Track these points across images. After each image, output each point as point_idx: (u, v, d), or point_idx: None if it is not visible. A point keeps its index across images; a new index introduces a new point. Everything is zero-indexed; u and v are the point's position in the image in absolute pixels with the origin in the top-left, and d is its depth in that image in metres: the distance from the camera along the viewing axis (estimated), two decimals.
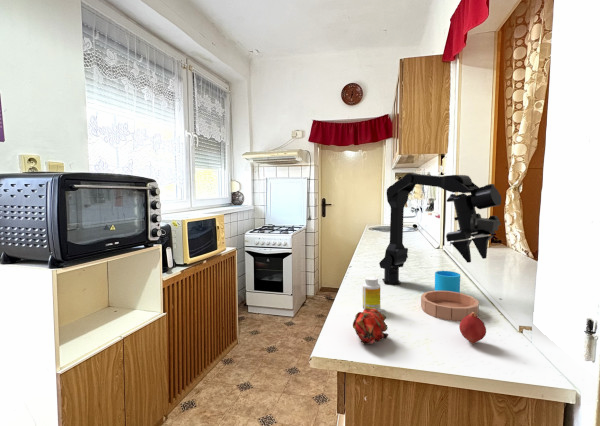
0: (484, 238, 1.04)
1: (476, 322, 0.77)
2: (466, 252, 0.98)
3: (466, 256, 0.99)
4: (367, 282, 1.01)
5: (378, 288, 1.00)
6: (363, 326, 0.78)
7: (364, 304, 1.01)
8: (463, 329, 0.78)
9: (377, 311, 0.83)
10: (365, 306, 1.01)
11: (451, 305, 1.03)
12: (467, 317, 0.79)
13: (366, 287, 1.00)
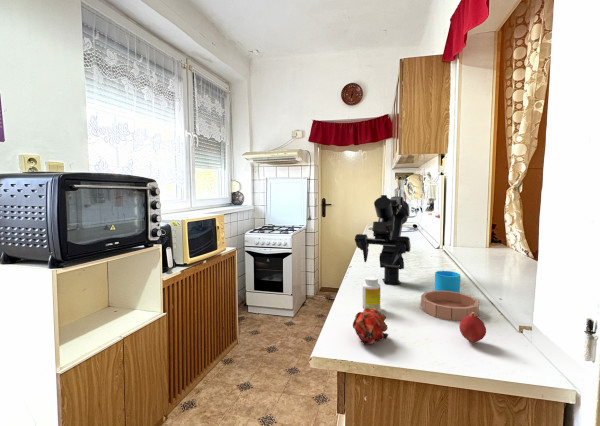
0: None
1: (476, 322, 0.77)
2: None
3: None
4: (367, 282, 1.01)
5: (378, 288, 1.00)
6: (363, 326, 0.78)
7: (364, 304, 1.01)
8: (463, 329, 0.78)
9: (377, 311, 0.83)
10: (365, 306, 1.01)
11: (451, 305, 1.03)
12: (467, 317, 0.79)
13: (366, 287, 1.00)
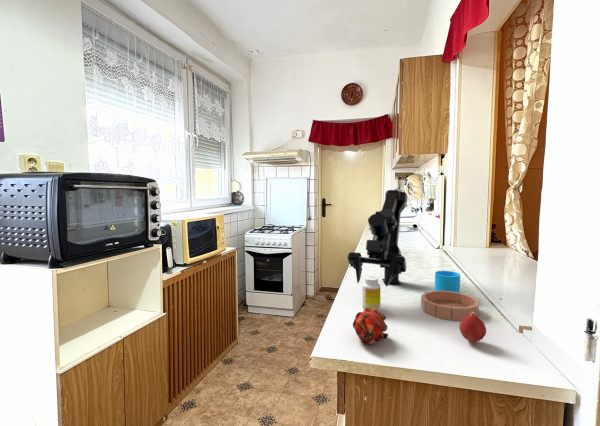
0: None
1: (476, 321, 0.77)
2: None
3: (356, 276, 1.06)
4: (367, 282, 1.01)
5: (378, 288, 1.00)
6: (363, 326, 0.78)
7: (364, 304, 1.01)
8: (463, 329, 0.78)
9: (377, 311, 0.83)
10: (365, 306, 1.01)
11: (451, 305, 1.03)
12: (467, 317, 0.79)
13: (366, 287, 1.00)
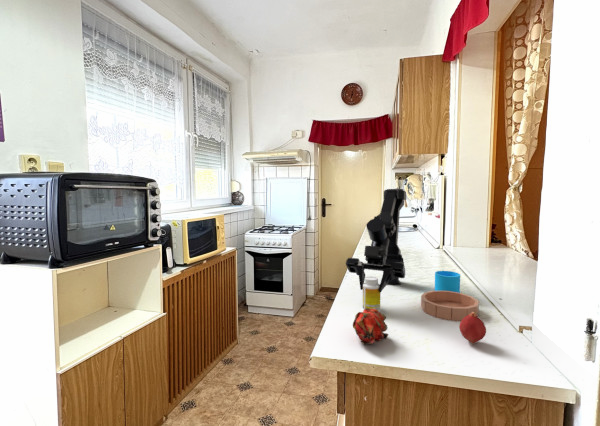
0: None
1: (476, 322, 0.77)
2: None
3: (360, 283, 1.03)
4: (367, 282, 1.01)
5: (378, 288, 1.00)
6: (363, 326, 0.78)
7: (364, 304, 1.01)
8: (463, 329, 0.78)
9: (377, 311, 0.83)
10: (365, 306, 1.01)
11: (451, 305, 1.03)
12: (467, 317, 0.79)
13: (366, 287, 1.00)
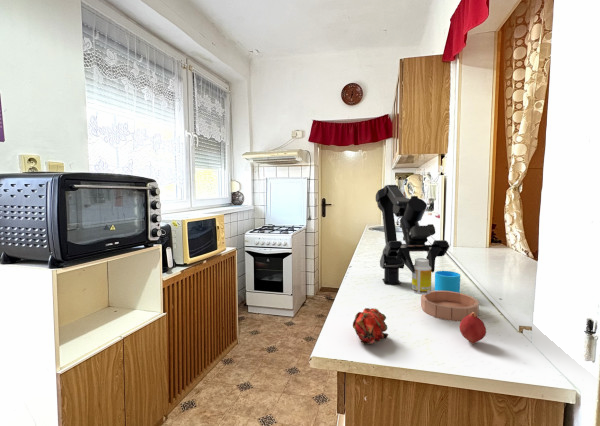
0: (430, 251, 1.00)
1: (476, 322, 0.77)
2: (408, 262, 0.98)
3: (409, 266, 0.98)
4: (421, 264, 0.96)
5: None
6: (363, 326, 0.78)
7: (418, 287, 0.96)
8: (463, 329, 0.78)
9: (377, 311, 0.83)
10: (420, 289, 0.96)
11: (451, 305, 1.03)
12: (467, 317, 0.79)
13: (421, 269, 0.95)
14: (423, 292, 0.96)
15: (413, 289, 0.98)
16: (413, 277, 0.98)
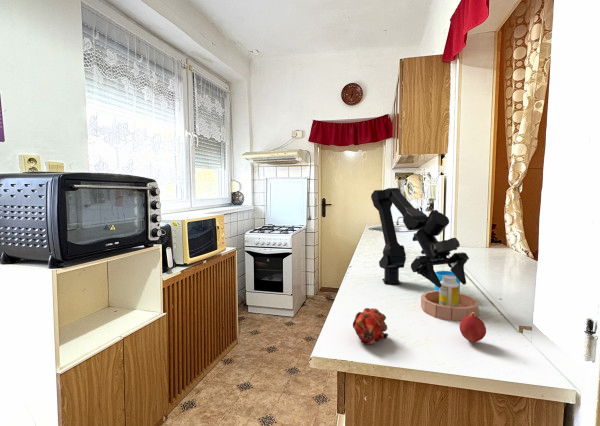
0: (457, 264, 1.03)
1: (476, 322, 0.77)
2: (433, 277, 0.98)
3: (435, 281, 0.98)
4: (451, 281, 0.98)
5: None
6: (363, 326, 0.78)
7: (449, 304, 0.98)
8: (463, 329, 0.78)
9: (377, 311, 0.83)
10: (451, 306, 0.98)
11: None
12: (467, 317, 0.79)
13: (452, 286, 0.97)
14: None
15: None
16: (443, 294, 0.99)
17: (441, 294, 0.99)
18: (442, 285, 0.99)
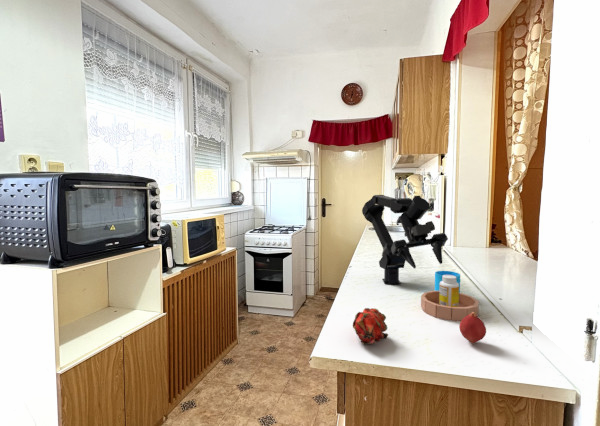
0: (436, 245, 1.10)
1: (476, 322, 0.77)
2: (408, 259, 1.08)
3: (410, 263, 1.08)
4: (451, 281, 0.98)
5: None
6: (363, 326, 0.78)
7: (449, 304, 0.98)
8: (463, 329, 0.78)
9: (377, 311, 0.83)
10: (451, 306, 0.98)
11: None
12: (467, 317, 0.79)
13: (452, 286, 0.97)
14: None
15: None
16: (443, 294, 0.99)
17: (441, 294, 0.99)
18: (442, 285, 0.99)
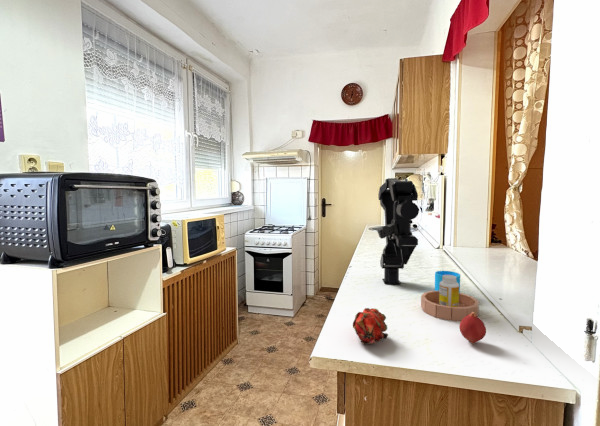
0: None
1: (476, 322, 0.77)
2: None
3: None
4: (451, 281, 0.98)
5: None
6: (363, 326, 0.78)
7: (449, 304, 0.98)
8: (463, 329, 0.78)
9: (377, 311, 0.83)
10: (451, 306, 0.98)
11: None
12: (467, 317, 0.79)
13: (452, 286, 0.97)
14: None
15: None
16: (443, 294, 0.99)
17: (441, 294, 0.99)
18: (442, 285, 0.99)
